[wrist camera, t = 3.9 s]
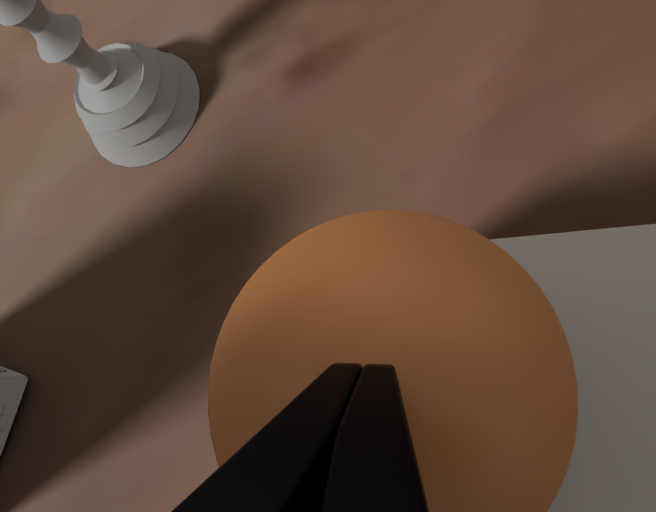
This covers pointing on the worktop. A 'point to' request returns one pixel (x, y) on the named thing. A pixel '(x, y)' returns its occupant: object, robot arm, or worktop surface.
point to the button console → (604, 358)
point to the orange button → (410, 352)
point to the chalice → (116, 86)
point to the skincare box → (9, 400)
